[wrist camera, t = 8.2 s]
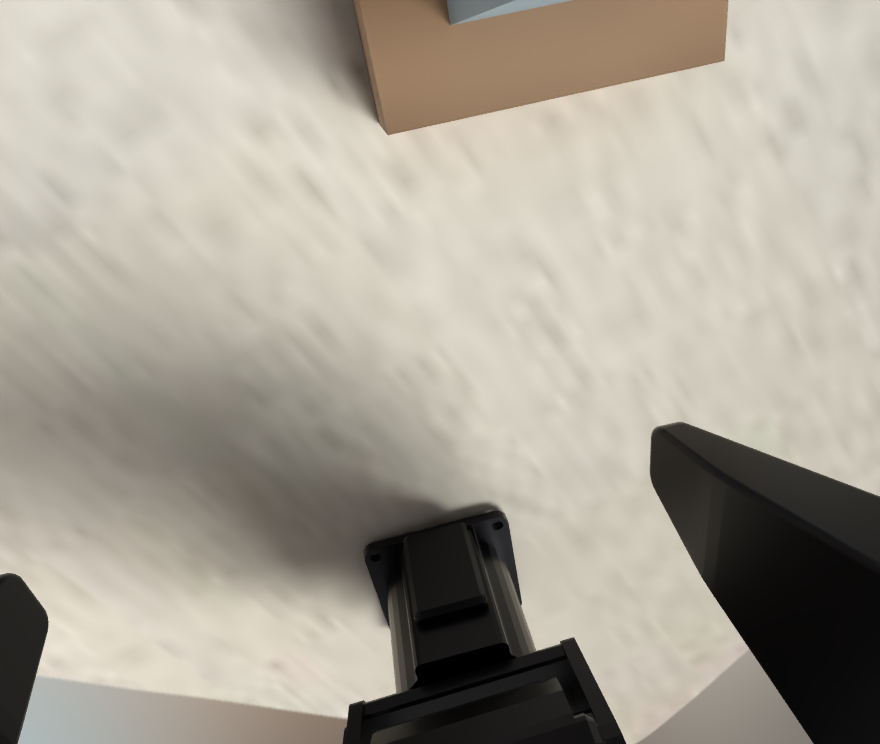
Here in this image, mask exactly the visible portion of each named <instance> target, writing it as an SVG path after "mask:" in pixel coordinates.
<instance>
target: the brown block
mask: <svg viewBox="0 0 880 744" xmlns="http://www.w3.org/2000/svg"><path fill="white" fill-rule="evenodd" d="M353 5H354V9H355V14H356V19H357V23H358V28H359V32H360V37H361V41H362V46H363V50H364V55H365V59H366V64H367V69H368V73H369V78H370V82H371V87H372V91H373V96H374V100H375V105H376V110H377V114H378V119H379V123H380V126H381V127H382V128H383V130H384V131H385V132H386V133H387V135H391V134H395V133H400V132H404V131H409V130H413V129H418V128H422V127H427V126H432V125H436V124H441V123H445V122H450V121H454V120H459V119H463V118H468V117H472V116H477V115H481V114H486V113H490V112H495V111H499V110H504V109H509V108H513V107H518V106H522V105H527V104H531V103H536V102H540V101H545V100H549V99H554V98H558V97H563V96H567V95H572V94H576V93H581V92H586V91H590V90H595V89H599V88H604V87H608V86H613V85H617V84H622V83H626V82H631V81H635V80H640V79H644V78H649V77H653V76H658V75H663V74H667V73H672V72H676V71H681V70H685V69H690V68H694V67H699V66H703V65H708V64H712V63H717V62H721V61H724V58H725V43H726V27H727V12H728V0H572V1H567V2H562V3H557V4H552V5H547V6H543V7H538V8H533V9H528V10H523V11H518V12H513V13H509V14H504V15H499V16H494V17H489V18H484V19H479V20H474V21H470V22H465V23H460V24H455V25H450V20H449V13H448V6H447V0H353Z"/></svg>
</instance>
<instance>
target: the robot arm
mask: <svg viewBox="0 0 880 744" xmlns="http://www.w3.org/2000/svg"><path fill="white" fill-rule="evenodd" d="M650 477H651V481H652V484H653V487H654V489H655V491H656V493H657V495H658V496H659V498H660V500H661V502H662V504H663V506H664V508H665V510H666V512H667V513H668V515H669V517H670V519H671V521H672V523H673V525H674V527H675V529H676V530H677V532H678V534H679V536H680V538H681V540H682V542H683V544H684V545H685V547H686V549H687V551H688V553H689V555H690V557H691V559H692V561H693V562H694V564H695V566H696V568H697V570H698V571H699V573H700V575H701V577H702V578H703V580H704V582H705V583H706V585H707V586H708V588H709V589H710V591H711V592H712V594H713V595H714V597H715V598H716V600H717V601H718V603H719V604H720V606H721V607H722V609H723V610H724V612H725V613H726V615H727V616H728V618H729V619H730V621H731V622H732V624H733V625H734V627H735V628H736V629H737V631H738V632H739V634H740V635H741V637H742V638H743V640H744V641H745V643H746V644H747V646H748V647H749V649H750V650H751V652H752V653H753V655H754V656H755V658H756V659H757V660H758V662H759V663H760V665H761V666H762V668H763V669H764V671H765V672H766V674H767V675H768V677H769V678H770V680H771V681H772V683H773V684H774V686H775V687H776V689H777V690H778V692H779V693H780V695H781V696H782V698H783V699H784V700H785V702H786V703H787V705H788V706H789V708H790V709H791V711H792V712H793V714H794V715H795V717H796V718H797V720H798V721H799V723H800V724H801V726H802V727H803V729H804V730H805V731H806V733H807V734H808V736H809V737H810V739H811V740H812V742H813V743H814V744H880V496H877V495H874V494H872V493H869V492H866V491H864V490H861V489H858V488H856V487H853V486H850V485H848V484H845V483H843V482H840V481H837V480H835V479H832V478H829V477H827V476H824V475H821V474H819V473H816V472H813V471H811V470H808V469H806V468H803V467H800V466H798V465H795V464H792V463H790V462H787V461H784V460H782V459H779V458H776V457H774V456H771V455H769V454H766V453H763V452H761V451H758V450H755V449H753V448H750V447H747V446H745V445H742V444H739V443H737V442H734V441H732V440H729V439H726V438H724V437H721V436H718V435H716V434H713V433H710V432H708V431H705V430H702V429H700V428H697V427H695V426H692V425H689V424H687V423H683V422H676V423H672V424H667V425H663V426H658V427H656V428H655V429H654V430H653V432H652V435H651V454H650ZM495 522H498V523H496V524H494V523H495ZM375 553H378V554H377V555H373V554H375ZM364 555H365V562H366V565H367V568H368V570H369V573H370V576H371V579H372V581H373V584H374V587H375V589H376V592H377V595H378V598H379V600H380V603H381V606H382V609H383V611H384V614H385V617H386V620H387V622H388V625H389V628H390V632H391V642H392V653H393V663H394V674H395V684H396V694H392V695H389V696H386V697H382V698H379V699H376V700H372V701H369V702H366V703H365V701H364V700H363V701H360V702H357V703H353V704H350V705H349V712H348V721H347V727H346V728H345V730H344V737H343V744H626V742H625V740H624V737H623V735H622V733H621V731H620V729H619V727H618V724H617V722H616V720H615V718H614V716H613V714H612V712H611V710H610V708H609V706H608V704H607V702H606V700H605V698H604V696H603V694H602V692H601V690H600V688H599V686H598V684H597V682H596V680H595V678H594V676H593V674H592V672H591V670H590V668H589V666H588V664H587V662H586V660H585V658H584V656H583V654H582V652H581V650H580V648H579V646H578V644H577V642H576V640H575V638H574V637H573V638H569V639H566V640H563V641H560V644H558V645H555V646H552V647H549V648H545V649H542V650H539V651H536V649H535V646H534V643H533V640H532V637H531V634H530V631H529V629H528V626H527V623H526V620H525V617H524V614H523V611H522V608H521V605H522V601H521V595H520V589H519V583H518V577H517V571H516V565H515V559H514V553H513V547H512V541H511V535H510V529H509V523H508V521H507V518H506V516H505V514H504V513H503V512H501V511H493V512H490V513H486V514H482V515H478V516H474V517H470V518H466V519H463V520H459V521H455V522H451V523H447V524H443V525H439V526H436V527H432V528H428V529H424V530H420V531H416V532H413V533H409V534H405V535H401V536H397V537H393V538H389V539H386V540H382V541H378V542H374V543H371V544H369V545H368V546H366V548H365V550H364ZM47 632H48V616H47V613H46V611H45V609H44V608H43V607H42V605H41V604H40V602H39V601H38V600H37V598H36V597H35V596H34V594H33V593H32V592H31V590H30V589H29V588H28V586H27V585H26V583H25V582H24V581H23V579H22V578H21V577H20V576H18V575H16V574H13V573H6V574H2V575H0V744H17V743H18V740H19V736H20V733H21V730H22V726H23V722H24V719H25V714H26V711H27V707H28V703H29V700H30V696H31V692H32V688H33V684H34V681H35V677H36V673H37V670H38V666H39V662H40V658H41V654H42V651H43V647H44V643H45V639H46V636H47Z"/></svg>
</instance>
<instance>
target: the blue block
mask: <svg viewBox="0 0 880 744" xmlns="http://www.w3.org/2000/svg"><path fill="white" fill-rule="evenodd" d="M567 1H572V0H447V6H448V13H449V20H450V25H455V24H460V23H465V22H470V21H474V20H479V19H484V18H489V17H494V16H499V15H504V14H509V13H513V12H518V11H523V10H528V9H533V8H538V7H543V6H547V5H552V4H557V3H562V2H567Z"/></svg>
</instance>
